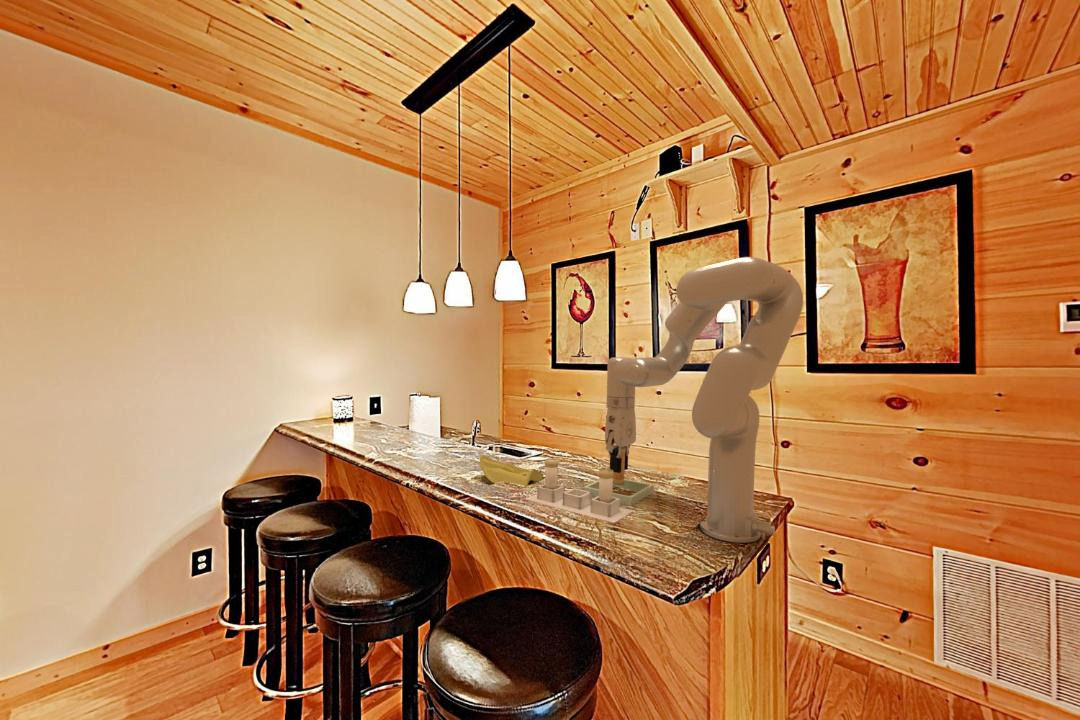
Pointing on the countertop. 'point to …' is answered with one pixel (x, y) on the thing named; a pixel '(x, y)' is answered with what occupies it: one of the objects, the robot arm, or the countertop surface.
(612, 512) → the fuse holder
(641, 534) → the countertop surface
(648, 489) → the tray
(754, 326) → the robot arm
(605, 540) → the countertop surface
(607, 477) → the cylinder
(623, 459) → the cylinder
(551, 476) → the cylinder
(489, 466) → the plastic component
